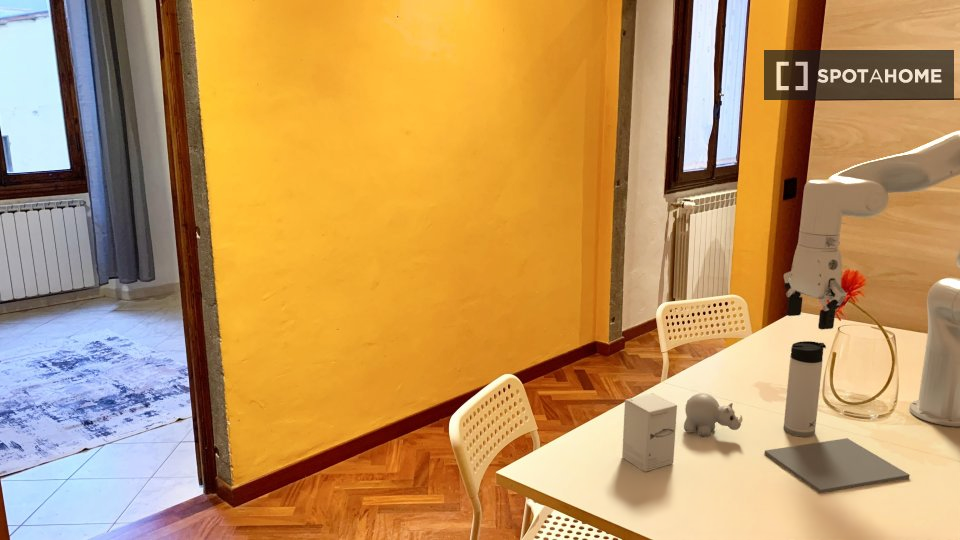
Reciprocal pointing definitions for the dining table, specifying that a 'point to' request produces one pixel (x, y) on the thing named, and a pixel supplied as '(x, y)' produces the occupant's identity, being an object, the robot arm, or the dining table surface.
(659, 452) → the supplement box
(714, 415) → the chubby cartoon animal
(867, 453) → the mat
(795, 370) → the travel mug
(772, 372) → the dining table surface
